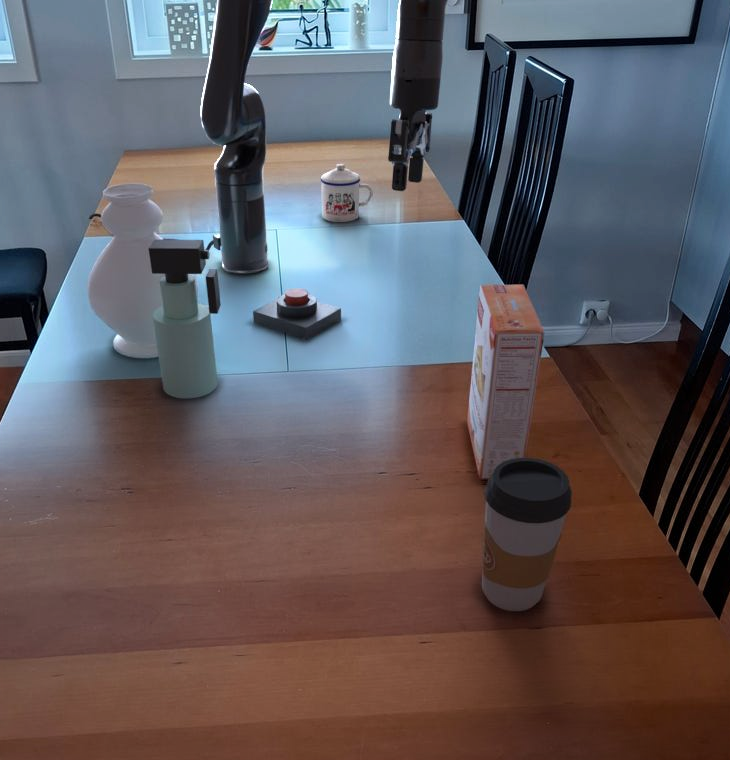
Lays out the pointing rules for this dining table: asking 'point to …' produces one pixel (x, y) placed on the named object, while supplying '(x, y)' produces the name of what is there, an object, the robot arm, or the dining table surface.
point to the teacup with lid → (342, 194)
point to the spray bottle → (183, 320)
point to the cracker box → (503, 375)
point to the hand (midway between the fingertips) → (406, 186)
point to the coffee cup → (522, 530)
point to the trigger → (213, 291)
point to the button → (296, 296)
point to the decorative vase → (128, 270)
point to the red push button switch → (297, 316)
